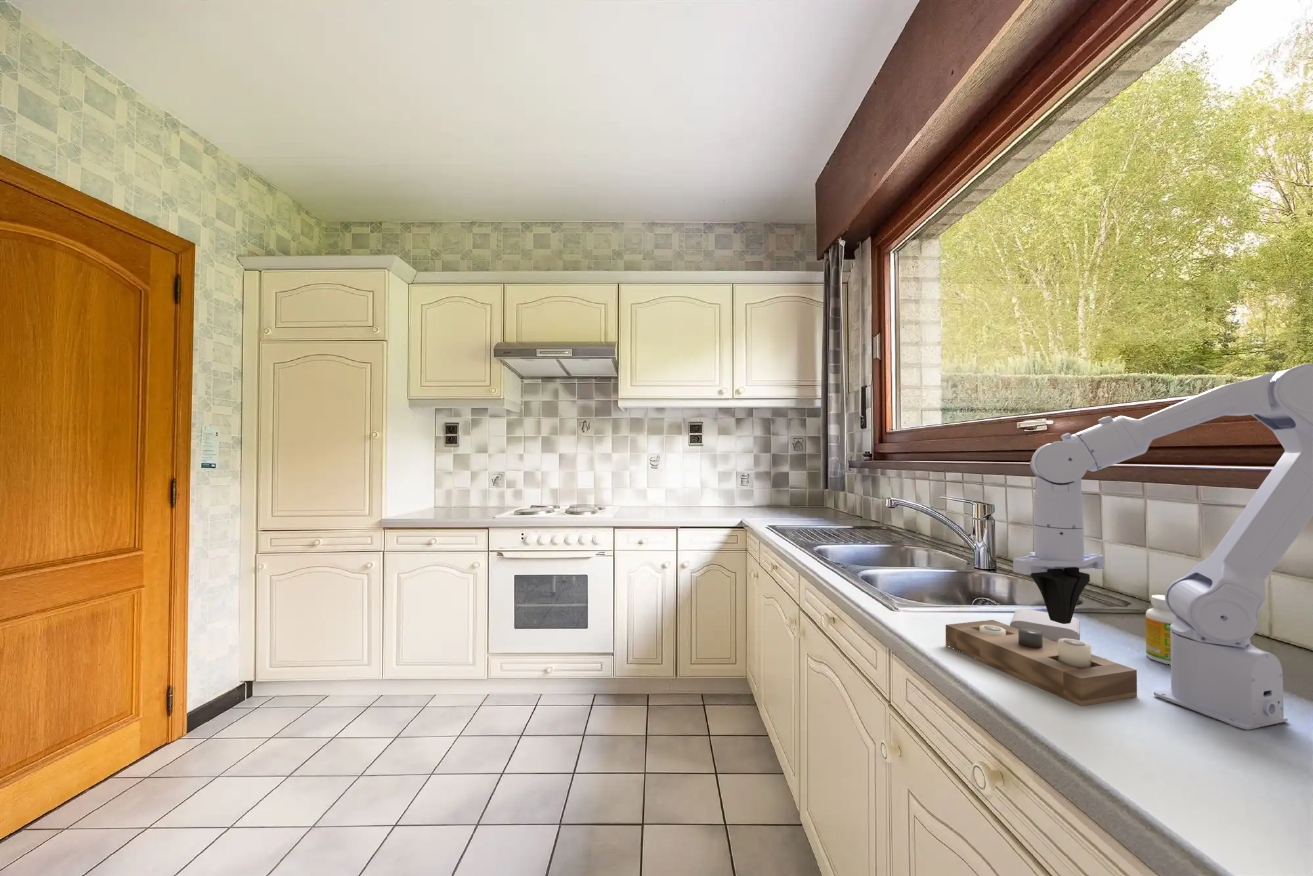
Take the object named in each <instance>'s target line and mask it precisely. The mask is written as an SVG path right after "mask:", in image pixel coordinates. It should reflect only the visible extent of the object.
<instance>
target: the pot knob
mask: <svg viewBox="0 0 1313 876" xmlns="http://www.w3.org/2000/svg"><path fill="white" fill-rule="evenodd" d="M1018 643H1019V644H1020V645H1022V646H1025V647H1029V648H1042V647H1043V635H1042V632H1040V631H1038V630H1034V629H1028V628H1020V629H1018Z"/></svg>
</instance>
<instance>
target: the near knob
mask: <svg viewBox="0 0 1313 876" xmlns="http://www.w3.org/2000/svg"><path fill="white" fill-rule="evenodd" d="M1091 654H1092V646H1091V644H1090V643H1088V642H1085V641H1082V640H1080V641H1079V640H1074V639H1065V638H1064V639H1059V640H1058V661H1059V662H1062V663H1064V664H1067V665H1070V666H1072V667H1075V668H1077V669H1083V668H1090V667H1091Z"/></svg>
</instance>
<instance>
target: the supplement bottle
mask: <svg viewBox="0 0 1313 876" xmlns="http://www.w3.org/2000/svg"><path fill="white" fill-rule="evenodd" d="M1150 597H1151V599H1150V603H1151V606H1152V608H1148V609H1147V610H1146V612H1145V651H1146V652H1145V653H1146V656H1147V658H1149V659H1151V660H1153V661H1156V662H1158V663H1161V664H1166V665H1168V664H1169V666H1171V640H1170V630H1171V629H1170V625H1171V624H1172V623H1173V622H1174V620H1175V618H1176V615H1174V614H1173V613H1172V612H1171V611H1170V609H1169V608H1168V606H1167V604H1166V601H1165V594H1152V595H1151V596H1150Z"/></svg>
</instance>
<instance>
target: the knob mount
mask: <svg viewBox="0 0 1313 876" xmlns="http://www.w3.org/2000/svg"><path fill="white" fill-rule="evenodd" d="M981 625H993V626H998V627H1001V628H1003V629H1005V630H1006V635H1003V636H995V637H994V636H991V635H988V634H986V633H983V632H980V626H981ZM946 645H947V646H950V647H951V648H950V647H949V648H950V649H952V648H954V649H955V650H954V649H953V650H954V651H956V650H958V651H957V652H959V651H960V652H959V653H961V652H963V653H964V654H963V653H962V654H963V655H965V654H967V655H966V656H967V657H970V656H971V657H970V658H972V657H973V659H974V658H976V659H975V660H977V661H979V660H980V661H979V662H981V661H982V662H981V663H983V662H985V663H984V664H985V665H988V664H989V665H988V666H991V667H992V666H993V668H995V669H997V668H998V669H997V670H999V669H1000V671H1001V670H1002V672H1004V673H1006V674H1008V673H1009V674H1008V675H1011V676H1013V677H1015V678H1016V679H1017V678H1018V679H1020V680H1022V681H1024V682H1027V683H1029V684H1031V685H1033V686H1036V687H1038V688H1040V689H1043V690H1044V691H1047V692H1049V693H1052V694H1054V695H1056V696H1058V697H1060V698H1063V699H1065V700H1067V701H1069V702H1072V703H1074V704H1076V705H1078V706H1081V707H1085V706H1089V705H1095V704H1101V703H1107V702H1112V701H1119V700H1125V699H1130V698H1135V697H1138V674H1137V673H1138V672H1137V671H1138V670H1137V669H1135V668H1132V667H1130V666H1127V665H1124V664H1121V663H1118V662H1115V661H1113V660H1109V659H1107V658H1103V657H1101V656H1097V655H1095V654H1092V653H1091V667H1090V668H1083V669H1077V668H1075V667H1072V666H1070V665H1067V664H1064V663H1062V662H1059V661H1058V642H1055V641H1052V640H1049V639H1046V638H1044V637H1043V647H1042V648H1029V647H1025V646H1022V645H1020V644H1019V643H1018V628H1015V627H1012V626H1010V624H1006V623H1003V622H1000V621H997V620H994V619H987V620H977V621H970V622H969V621H968V622H959V623H951V624H950V623H948V624H945V646H946ZM947 646H946V647H947Z"/></svg>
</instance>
